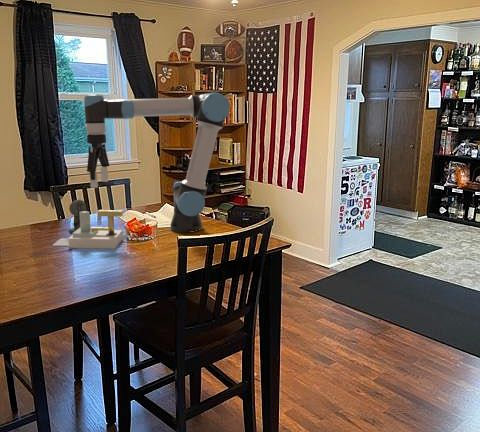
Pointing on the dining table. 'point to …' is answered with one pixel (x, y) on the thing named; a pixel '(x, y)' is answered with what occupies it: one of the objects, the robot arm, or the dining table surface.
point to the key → (111, 215)
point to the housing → (97, 240)
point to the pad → (62, 242)
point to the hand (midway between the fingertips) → (99, 184)
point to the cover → (84, 226)
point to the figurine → (76, 213)
